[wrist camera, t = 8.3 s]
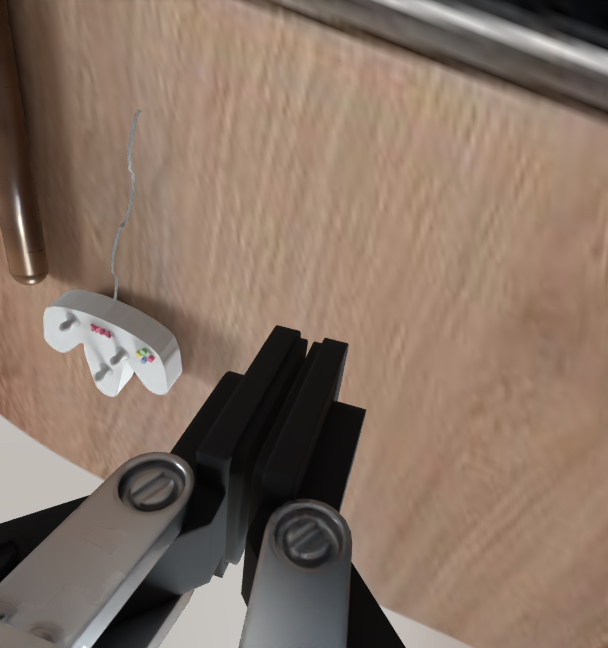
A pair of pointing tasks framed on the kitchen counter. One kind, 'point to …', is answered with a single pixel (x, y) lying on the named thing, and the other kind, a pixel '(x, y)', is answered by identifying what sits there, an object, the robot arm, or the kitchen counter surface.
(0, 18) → the spoon
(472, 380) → the kitchen counter surface
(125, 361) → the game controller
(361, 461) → the kitchen counter surface
